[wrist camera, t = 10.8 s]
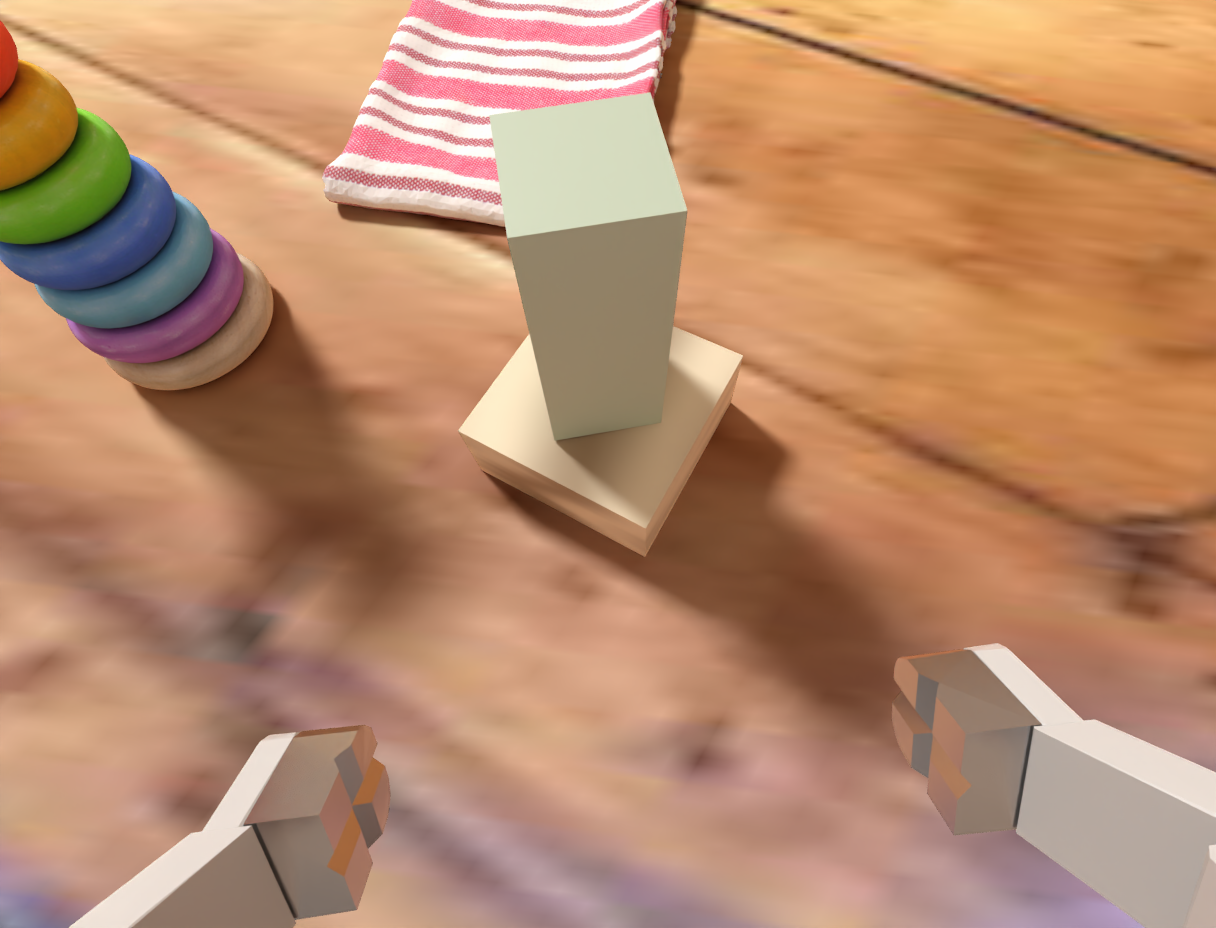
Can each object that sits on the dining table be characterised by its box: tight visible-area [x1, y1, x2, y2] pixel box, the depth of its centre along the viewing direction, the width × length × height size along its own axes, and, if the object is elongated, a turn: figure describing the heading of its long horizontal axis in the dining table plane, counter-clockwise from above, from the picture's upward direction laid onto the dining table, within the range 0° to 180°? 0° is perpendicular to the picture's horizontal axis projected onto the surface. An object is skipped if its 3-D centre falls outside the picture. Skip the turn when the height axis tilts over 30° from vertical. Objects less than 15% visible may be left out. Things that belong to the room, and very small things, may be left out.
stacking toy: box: [0, 21, 273, 390], centre depth 21 cm, size 8×8×19 cm
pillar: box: [489, 93, 687, 441], centre depth 19 cm, size 4×4×10 cm
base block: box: [458, 326, 743, 557], centre depth 25 cm, size 8×8×4 cm
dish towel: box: [322, 0, 677, 227], centre depth 35 cm, size 17×23×4 cm
